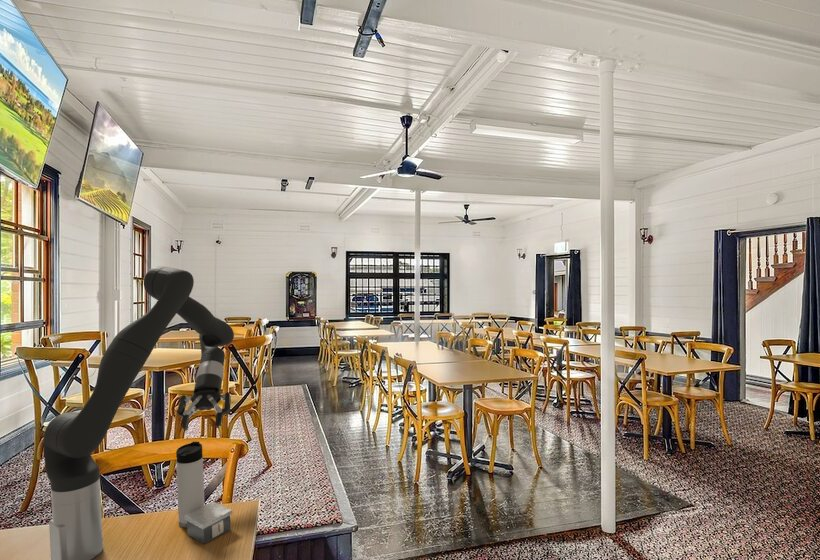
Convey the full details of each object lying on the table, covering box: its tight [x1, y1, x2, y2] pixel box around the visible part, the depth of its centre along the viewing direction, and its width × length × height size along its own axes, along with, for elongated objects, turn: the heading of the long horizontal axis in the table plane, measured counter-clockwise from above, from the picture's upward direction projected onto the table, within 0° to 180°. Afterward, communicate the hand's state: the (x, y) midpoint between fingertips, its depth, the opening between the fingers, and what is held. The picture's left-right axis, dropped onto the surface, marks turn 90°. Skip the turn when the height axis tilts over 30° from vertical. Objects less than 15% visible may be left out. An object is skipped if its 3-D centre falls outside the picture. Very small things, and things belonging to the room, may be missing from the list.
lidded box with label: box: [184, 501, 233, 545], centre depth 116 cm, size 8×8×5 cm
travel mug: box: [175, 441, 206, 528], centre depth 121 cm, size 6×7×20 cm
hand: (201, 428), depth 132 cm, fingers open, 8 cm apart
